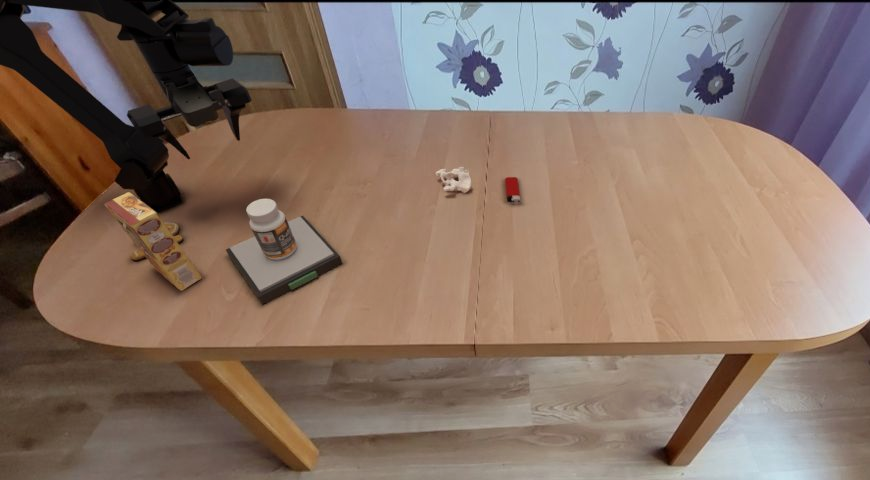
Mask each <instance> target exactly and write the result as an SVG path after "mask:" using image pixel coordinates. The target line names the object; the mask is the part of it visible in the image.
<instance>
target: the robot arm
mask: <svg viewBox="0 0 870 480" xmlns="http://www.w3.org/2000/svg"><path fill="white" fill-rule="evenodd" d="M26 6H28V7H37V8H44V9H45V8H47V9H53V10H54V9H56V10H64V11H74V12H82V13H83V12H84V13H90V14H92V15H93V14H94V15H97V16H98V17H100V18H102V19H103V20H105V21H107V22H109V23H113V24H116V25H120V26H121V27H120V30H119V32H118V33H117V35H116V38H117V41H118V40H119V41H121V42H123V41H124V42H125V41H127V42H128V41H133V42H134V44H135V46H136V48H137V49H138V51H139V53H140V54H141V56H142V58H143V60H144V61H145V63H146V65H147V67H148V68H149V70H150V71H151V74H152V75H153V77H154V79H155V81H156V83H157V85H158V86H159V88H160V90H161V91H162V94H163V95H164V97H165V98H166V100H167V102H168V104H169V105H168V106H165V107H161V108H158V109H154V108H153V107H152V105H151V104H149V103H147V104H145V105H142V106H138V107H135V108H132V109H129V110H127V113H126V117H127V118H128V120H129V122H130V123H131V125H130V124H127V123H126V122H124V121H123V120H122V119H120V118H119V117H118V116H117V115H116V114H115V113H114V112H113V111H111V110H110V109H109V108H108V107H107V106H106V105H104V103H102V102H101V101H100V100H99V99H97V98H96V97H95V96H94V95H93V94H92V93H90V91H88V90H87V89H86V88H85V87H84V86H82V85H81V84H80V83H79V82H78V81H77V80H75V78H73V77H72V76H71V75H70V74H69V73H67V72H66V71H65V70H64V69H63V68H62V67H60V66H59V65H58V64H57V62H55V61H53V60H52V59H51V58H50V57H49V56H48V55H47V54H46V53H45V52H44V51H43V50H42V49H41V46H40V44H39V42H38V40H37V38H36V36H35V34H34V31H33V30H32V29H31V28H30V27H29V26H28V25H27V24H26V22H24V20H22V17H23V14H24V12H25V10H26ZM160 14H164V15H163V16H162V17H160V18H159V19H157V20H156V21H155V20H154V18H156V17H157V16H159V15H160ZM189 18H190V17H189V14H188V13H187V12H186V11H185V10H184V9H182V8H181V7H180V6H179V5H178V4H176V3H175V2H174V1H173V0H160V1H157V2H125V1H124V0H0V66H3V67H5V68H8V69H11V70H14V71H15V72H16V73H18V75H20V76H22V78H24V79H25V80H26V81H28V82H29V83H30V84H31V85H33V86H34V87H35V88H37V90H38V91H39V92H40V93H42V94H43V95H45V96H46V97H47V98H49V99H50V100H51V101H52V102H54V103H55V104H56V105H57V106H58V107H59V108H61V109H62V110H63V111H64V112H66V113H67V114H68V115H70V117H72V118H73V119H74V120H76V121H77V122H78V123H79V124H80V125H82V126H83V127H84V128H86V129H87V130H88V131H89V132H90V133H91V134H93V135H94V136H95V137H96V138H98V139H99V140H100V141H101V142H102V143H103V145H104V148H105V149H106V153H107V154H108V156H109V159H111V161H113V163H114V164H115V165H116V166H118V167H119V172H118V173H117V175H116V177H115V178H114V182H115V184H117V186H119V187H120V188H122V189H123V190H133V192H134V193H135V194H136V197H137V198H138V199H139V200H141V201H142V202H144V203H145V204H146V205H147V206H149V207H150V208H152V209H153V210H154V211H155V212H157V213H159V212H161V211H164V210H166V209H170V208H172V207H176V206H177V205H180V204H182V203H184V200H183V198H182V197H181V196H182V192H181V191H180V190H179V188H178V186H177V184H176V182H175V181H174V179H173V178H172V176H171V175H170V173H166V172H165V171H164V169H165V168H166V167H168V166H169V162H168V160H169V156H170V154H169V148H168V147H167V145H166V144H164V143H165V142H167V143H168V144H170V145H171V146H172V147H173V148H174V149H176V150H177V151H178V152H179V153H180V154H181V155H183V156H184V157H185V158H186V159H187V160H191V157H190V155H189V154H188V151H187V150H186V149H185V148H184V147H183V146H182V144H181V143H180V142H179V140H178V139H177V137H175V136H174V134H173V133H172V131H170V129H169V128H168V126H167V125H166V124H165V122H166V121H169V120H172V119H175V118H178V117H181V116H182V117H183V119H184V120H185V121H186V122H187V124H188V125H189V126H190V127H193V128H195V127H199V126H201V125H203V124H205V123H209V122H214V121H216V120H218V119H219V113H218V111H220V110H223V112H224V116H225V117H226V120H227V123H228V125H229V127H230V130H231V132H232V134H233V136H234V138H235V139H236V141H237V142H240V141H241V133H240V114H241V112H242V110H244V109H246V107H247V104H249V103H251V102H252V97H251V95H250V93H249V90H248V89H247V87H246V86H245V85H243V84H242V83H241V82H240V81H239V80H237V79H235V78H230V79H226V80H223V81H220V82H216V83H214V84H211V85H208V86H207V85H205V86H204V85H202V83H200V82H199V80H198V77H197V76H196V74H195V72H194V70H193V68H192V67H228V66H230V65H232V63H233V61H234V48H233V45H232V41H231V38H230V37H229V35H227V34H226V32H225V30H223V29H222V28H221V27H220V26H219V25H216V23H215V20H214V18H212V17H203V18H199V19H189Z"/></svg>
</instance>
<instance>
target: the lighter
mask: <svg viewBox="0 0 870 480" xmlns="http://www.w3.org/2000/svg"><path fill="white" fill-rule="evenodd" d="M504 183H505V193H506V194H505V195H506V201H507V202H508V203H511V204H513V205H520V204H521V196H520V188H519V181H518V177H516V176H507V177H505V178H504Z"/></svg>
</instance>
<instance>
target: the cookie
mask: <svg viewBox="0 0 870 480" xmlns="http://www.w3.org/2000/svg"><path fill="white" fill-rule="evenodd" d="M164 224H165V225H166V227H167V228H168V230H169V231H170V232H171V234H172V235H173V237H174V238H175V240H176V241H177V243H178V244H180V243H181V242H182V241H183V237H182V235H178V233H179V232H180V227H179V225H178V224H177V223H176V222H164ZM129 257H130V259H131V260H132V261H139V260H143V259H144V258H146V256H145V255H144V254H143V253H142V252H141V250H140V249H139V248H138V249H137V250H135V251H134V252H132V253H131V254H130V256H129Z"/></svg>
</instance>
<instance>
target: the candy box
mask: <svg viewBox="0 0 870 480" xmlns="http://www.w3.org/2000/svg"><path fill="white" fill-rule="evenodd" d="M104 207H106V209H107V211H109V213H110V214H111V215H112V217H113V218H114V219H115V221H117V223H118V224H119V226H121V228H122V229H123V231H124V232H125V233H126V234H127V235H128V237H129V239H131V241H132V242H133V243H134V244H135V246H136V247H137V248H138V250H139V249H140V250H141V252H142V253H143V254H144V255H145V256H146V257H145V258H146V259H147V261H148V262H149V263H150V264H151V265H152V266H153V268H154V269H155V270H156V271H157V272H158V273H159V274H160V275H161V276H162V277H163V278H165V279H166V280H167V281H168V282H169V283H170V284H172V285H173V286H174V287H175V288H176V289H178V290H179V291H180V292H182V291H184V290H185V289H187V288H188V287H191V286H192V285H193V284H195V283H196V282H198V281H200V280H201V279H202V276H201V274H200V273H199V271H198V270H197V269H196V267H195V266H194V264H193V263H192V261H191V259H190V258H189V257H188V256H187V254H186V253H185V251H184V250H183V248H182V247H181V245H180V243H177V241H176V240H175V238H174V237H173V235H172V234H171V232H170V231H169V230H168V228H167V227H166V225H165V224H164V223H165V222H164V221H163V220H162V218H161V217H160V215H159V213H158V212H155V211H154V210H153V209H152V208H150V207H149V206H147V205H146V204H145V203H144V202H142V201H141V200H140V199H139V197H138V196H136V195H134V194H132V192H130V191H127V192H125V193H123V194H121V195H119V196H117V197H115V198H113V199H111V200H108V201H107V202H104Z"/></svg>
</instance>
